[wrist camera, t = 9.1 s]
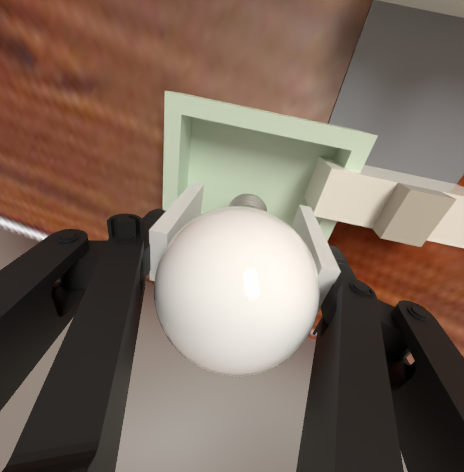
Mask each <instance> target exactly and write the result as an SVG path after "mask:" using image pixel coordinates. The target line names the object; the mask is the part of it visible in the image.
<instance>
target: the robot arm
mask: <svg viewBox="0 0 464 472" xmlns="http://www.w3.org/2000/svg"><path fill="white" fill-rule="evenodd" d="M203 189H204V184H202V183H197V182H192V183H191V184H190V185H189V186H188V187H187V189H186V190H185V191H184V192H183V193H182V194H181V195H180V196H179V197H178V198H177V200H176V201H175V202H174V203H173V204H172V205H171V206H170V207H169V208H168V210H167V211H165V210H161V209H155V210H153V211H150V212H149V213H148V214H147V215H145V217H143V218H141V217H139V216H137V215H133V214H119V215H114V216H112V217H110V218H109V219H108V220H107V225H108V233H109V240H108V241H90V240H88V236H87V233H85V232H84V231H81V230H77V229H68V230H67V229H65V230H62V231H58V232H55V233H53V234H51V235H50V236H48V237H47V238H45V239H44V240H42V241H41V242H40V243H38V244H37V245H35V246H34V247H33V248H31V249H30V250H28V251H27V252H26V253H24V254H23V255H21V256H20V257H18V258H17V259H16V260H14V261H13V262H11V263H10V264H9V265H7V266H6V267H4V268H3V269H1V270H0V411H1V409H2V408H3V407H4V406H5V404H6V403H7V402H8V400H9V399H10V398H11V396H12V395H13V394H14V393H15V391H16V390H17V389H18V387H19V386H20V385H21V384H22V382H23V381H24V380H25V378H26V377H27V376H28V374H29V373H30V372H31V371H32V370H33V368H34V367H35V365H36V364H37V363H38V362H39V360H40V359H41V358H42V357H43V355H44V354H45V353H46V351H47V350H48V349H49V348H50V346H51V345H52V344H53V342H54V341H55V340H56V339H57V337H58V336H59V335H60V333H61V332H62V331H63V329H64V328H65V327H66V326H67V324H68V323H69V322H70V320H71V319H72V318H73V317H74V318H73V320H72V322H71V325H70V327H69V329H68V331H67V333H66V336H65V338H64V340H63V342H62V344H61V347H60V349H59V351H58V353H57V355H56V358H55V360H54V362H53V365H52V367H51V369H50V371H49V373H48V376H47V378H46V380H45V382H44V385H43V387H42V389H41V391H40V393H39V396H38V398H37V400H36V402H35V404H34V407H33V409H32V411H31V413H30V416H29V418H28V420H27V422H26V424H25V427H24V429H23V431H22V433H21V436H20V438H19V440H18V442H17V444H16V447H15V449H14V451H13V453H12V456H11V458H10V459H9V461H8V463H7V465H6V467H5V468H4V470H3V471H2V472H115V468H116V462H117V456H118V450H119V443H120V437H121V430H122V425H123V419H124V413H125V407H126V400H127V394H128V388H129V382H130V375H131V370H132V363H133V357H134V351H135V345H136V339H137V333H138V327H139V320H140V314H141V308H142V302H143V295H144V290H145V277H146V276H147V274H148V273H149V271H150V280H151V281H155V275H156V270H157V267H158V263H159V261H160V258H161V256H162V254H163V252H164V250H165V248H166V246H167V245H168V243H169V242H170V240H171V239H172V238H173V236H174V235H175V234H176V233H177V232H178V231H179V230H180V229H181V228H182V227H183V226H184V225H185V224H187V223H188V222H189V221H191V220H192V219H194V218H195V217H197V216H199V215H201V206H202V198H203ZM292 228H293V229H294V230H295V231H296V232H297V233H298V234H299V236H300V237H301V238H302V239H303V241H304V242H305V244H306V245H307V247H308V249H309V250H310V252H311V254H312V257H313V259H314V261H315V264H316V268H317V271H318V276H319V284H320V299H319V307H318V312H319V310H320V308H321V311H322V314H323V316H322V318H321V320H320V322H319V323H318V325H317V327H316V328H315V330H314V332H313V334H314V335H315V334H316V333H317V338H316V346H315V352H314V358H313V365H312V371H311V378H310V385H309V391H308V397H307V404H306V411H305V417H304V425H303V430H302V437H301V443H300V450H299V457H298V464H297V470H296V472H404V471H403V464H402V458H401V453H402V456H403V459H404V462H405V465H406V468H407V471H408V472H464V358H463V356H462V355H461V353H460V352H459V351H458V349H457V348H456V347H455V345H454V344H453V342H452V341H451V340H450V338H449V337H448V335H447V334H446V333H445V331H444V330H443V328H442V327H441V326H440V324H439V323H438V321H437V320H436V319H435V318H434V316H433V315H432V314H431V313H430V312H428V311H427V310H426V309H425V308H424V307H422V306H420V305H418V304H416V303H413V302H410V301H405V300H403V301H399V303H398V304H397V305H396V306H395V307H394V306H391V305H389V304H387V303H384V302H382V301H380V300H378V299H377V297H376V294H375V292H374V291H373V290H372V289H371V288H370V287H369V286H368V285H366V284H365V283H363V282H361V281H359V280H357V279H356V277H355V275H354V273H353V271H352V269H351V268H350V266H349V264H348V262H347V260H346V258H345V256H344V254H343V253H342V252H341V251H340V250H339V249H338V248H337V247H335V246H330V245H328V243H327V241H326V238H325V236H324V234H323V232H322V230H321V228H320V225H319V223H318V221H317V219H316V217H315V215H314V212H313V210H312V208H311V207H309V206H304V205H299V207H298V210H297V213H296V216H295V218H294V221H293V224H292ZM57 280H58V281H57ZM56 281H57V282H56ZM318 312H317V313H318ZM410 353H411V354H412V356H413V358H414V360H415V362H414V363H413V364H411V365H410V364H409V362H408V360H407V358H406V357H407V356H408V355H409V354H410ZM400 450H401V451H400Z"/></svg>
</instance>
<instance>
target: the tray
mask: <svg viewBox="0 0 464 472" xmlns="http://www.w3.org/2000/svg"><path fill="white" fill-rule="evenodd" d="M377 137H378V136H377V135H374V134H370V133H366V132H363V131H359V130H355V129H350V128H345V127H341V126H336V125H331V124H327V123H322V122H317V121H312V120H308V119H303V118H298V117H293V116H289V115H284V114H279V113H274V112H270V111H265V110H260V109H255V108H251V107H246V106H241V105H237V104H232V103H227V102H222V101H218V100H213V99H208V98H203V97H199V96H194V95H189V94H184V93H178V92H171V91H165V110H164V160H163V210H165V211H167V210H168V208H169V207H170V206H171V205H172V204H173V203H174V202H175V201H176V200H177V198H178V197H179V196H180V195H181V194H182V193H183V192H184V191H185V190H186V189H187V187H188V186H189V185H190V184H191V183H192V182H197V183H202V184H204V189H203V198H202V206H201V214H203V213H205V212H208V211H211V210H214V209H217V208H222V207H228V206H229V204H230V202H231V201H232V200H233V199H234V198H235V197H236V196H238V195H241V194H253V195H256V196H258V197H259V198H261V199H262V200H263V202H264V203H265V205H266V208H267V212H268V213H270V214H273V215H275V216H276V217H278V218H280V219H281V220H283V221H284V222H286V223H287V224H288V225H289V226H291V227H292V224H293V221H294V218H295V216H296V213H297V210H298V207H299V205H304V206H308V204H307V202H306V200H305V198H304V195H305V193H306V190H307V187H308V185H309V182H310V179H311V176H312V174H313V171H314V168H315V166H316V163H317V160H318V157H319V156H320V157H325V158H329V159H333V160H335V161H336V162H337V163H338V164H340V165H341V166H342V167H344V168H346V169H351V170H355V171H360V172H361V170H362V168H363V166H364V164H365V162H366V160H367V158H368V156H369V154H370V152H371V149H372V147H373V145H374V143H375V141H376V139H377ZM315 217H316V216H315ZM316 219H317V221H318V223H319V225H320V228H321V230H322V232H323V234H324V236H325V238H326V241H328V239H329V237H330V235H331V233H332V231H333V229H334V227H335V225H336V223H337V221H335V220H330V219H326V218H321V217H316Z"/></svg>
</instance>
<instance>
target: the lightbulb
mask: <svg viewBox="0 0 464 472" xmlns="http://www.w3.org/2000/svg"><path fill="white" fill-rule="evenodd" d="M154 299H155V306H156V311H157V315H158V318H159V321H160V324H161V326H162V328H163V330H164V332H165V334H166V336H167V337H168V339H169V340H170V342H171V343H172V344H173V345H174V347H175V348H176V349H177V350H178V351H179V352H180V353H181V354H182V355H183V356H184V357H185V358H187V359H188V360H189V361H191V362H192V363H194V364H195V365H197V366H199V367H201V368H203V369H205V370H208V371H210V372H213V373H217V374H221V375H227V376H248V375H254V374H258V373H262V372H265V371H267V370H270V369H272V368H274V367H276V366H278V365H280V364H281V363H283V362H284V361H285V360H287V359H288V358H289V357H291V356H292V355H293V354H294V353H295V352H296V351H297V350H298V349H299V348H300V346H301V345H302V344H303V342H304V341H305V340H306V338H307V336H308V335H309V333H310V331H311V329H312V327H313V325H314V322H315V319H316V316H317V312H318V307H319V299H320V284H319V276H318V271H317V268H316V264H315V261H314V259H313V257H312V254H311V252H310V250H309V249H308V247H307V245H306V244H305V242H304V241H303V239H302V238H301V237H300V236H299V234H298V233H297V232H296V231H295V230H294V229H293V228H292V227H291V226H289V225H288V224H287V223H286V222H284V221H283V220H281V219H280V218H278V217H276V216H275V215H273V214H270V213H268V212H267V208H266V205H265V203H264V202H263V200H262V199H261V198H259V197H258V196H256V195H253V194H241V195H238V196H236V197H235V198H234V199H233V200H232V201H231V202H230V204H229V206H228V207H222V208H217V209H214V210H211V211H208V212H205V213H203V214H201V215H199V216H197V217H195V218H194V219H192V220H191V221H189V222H188V223H187V224H185V225H184V226H183V227H182V228H181V229H180V230H179V231H178V232H177V233H176V234H175V235H174V236H173V238H172V239H171V240H170V242H169V243H168V245H167V246H166V248H165V250H164V252H163V254H162V256H161V258H160V261H159V263H158V267H157V270H156V275H155V282H154Z"/></svg>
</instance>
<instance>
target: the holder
mask: <svg viewBox="0 0 464 472" xmlns="http://www.w3.org/2000/svg"><path fill="white" fill-rule="evenodd" d="M328 124H331V125H336V126H341V127H345V128H350V129H355V130H359V131H363V132H366V133H370V134H374V135H377V136H378V137H377V139H376V141H375V143H374V145H373V147H372V149H371V152H370V154H369V156H368V158H367V160H366V162H365V164H364V166H363V168H362V170H361V172H360V171H355V170H351V169H346V168H344V167H342V166H341V165H340V164H338V163H337V162H336V161H335V160H333V159H329V158H325V157H320V156H319V157H318V160H317V163H316V166H315V168H314V171H313V174H312V176H311V179H310V182H309V185H308V187H307V190H306V193H305V195H304V198H305V200H306V202H307V204H308V206H309V207H311V208H312V210H313V212H314V215H315V216H316V217H321V218H326V219H330V220H335V221H340V222H344V223H349V224H353V225H358V226H363V227H367V228H372V229H373V230H374V232H375V233H376V234H377V235H378V236H379V237H380V238H382V239H386V240H391V241H396V242H400V243H405V244H409V245H414V246H419V247H421V246H422V245H423V244H424V242H425V241H426V240H428V241H432V242H437V243H442V244H446V245H451V246H456V247H460V248H464V187H462V186H459V185H457V182H458V181H459V180H460V178H461V177H462V175H463V174H464V0H373V1H372V4H371V7H370V9H369V12H368V15H367V18H366V20H365V23H364V26H363V29H362V31H361V34H360V37H359V40H358V42H357V45H356V48H355V51H354V54H353V56H352V59H351V62H350V65H349V67H348V70H347V73H346V76H345V78H344V81H343V84H342V87H341V89H340V92H339V95H338V98H337V101H336V103H335V106H334V109H333V112H332V114H331V117H330V120H329V123H328Z"/></svg>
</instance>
